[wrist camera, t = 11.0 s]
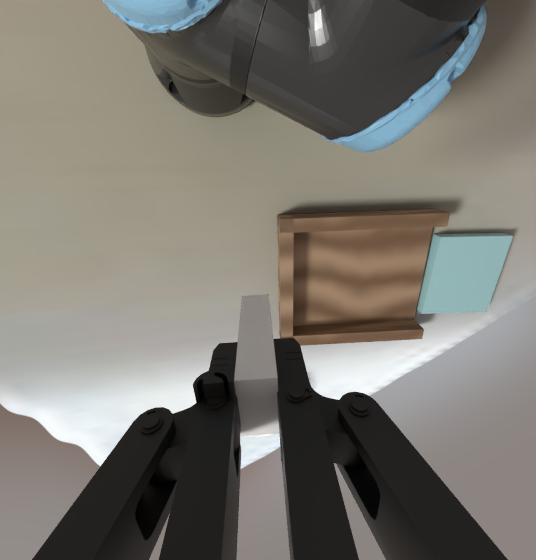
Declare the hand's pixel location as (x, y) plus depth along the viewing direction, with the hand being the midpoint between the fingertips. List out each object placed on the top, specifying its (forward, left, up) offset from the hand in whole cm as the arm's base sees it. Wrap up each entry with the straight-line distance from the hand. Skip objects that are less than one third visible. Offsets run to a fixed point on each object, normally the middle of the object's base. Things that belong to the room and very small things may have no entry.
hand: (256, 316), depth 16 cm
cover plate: (+10, +35, -30) cm, 47 cm away
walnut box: (+10, +16, -29) cm, 35 cm away
